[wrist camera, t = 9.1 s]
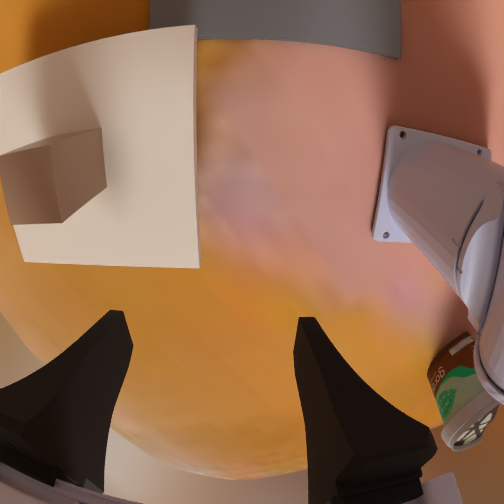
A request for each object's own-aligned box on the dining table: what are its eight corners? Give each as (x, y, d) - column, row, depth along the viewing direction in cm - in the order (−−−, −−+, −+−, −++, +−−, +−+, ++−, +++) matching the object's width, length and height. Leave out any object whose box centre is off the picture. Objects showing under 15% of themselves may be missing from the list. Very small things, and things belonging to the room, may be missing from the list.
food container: (420, 344, 26) (458, 423, 17) (468, 321, 25) (514, 391, 16) (415, 401, 32) (438, 464, 23) (455, 383, 31) (483, 442, 22)
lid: (197, 28, 11) (170, -5, 6) (201, 260, 17) (185, 324, 12) (3, 75, 11) (-59, 84, 6) (30, 255, 16) (-13, 301, 12)
